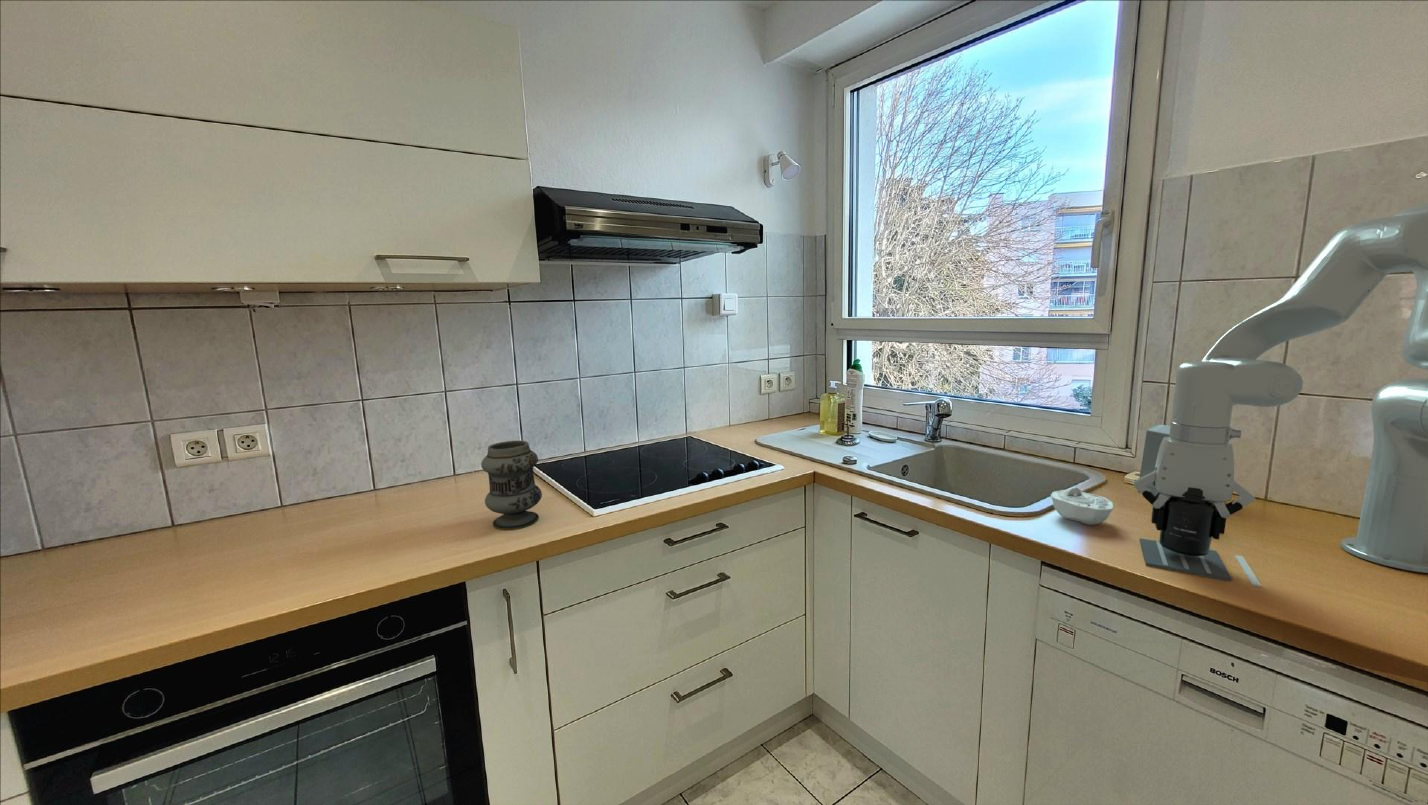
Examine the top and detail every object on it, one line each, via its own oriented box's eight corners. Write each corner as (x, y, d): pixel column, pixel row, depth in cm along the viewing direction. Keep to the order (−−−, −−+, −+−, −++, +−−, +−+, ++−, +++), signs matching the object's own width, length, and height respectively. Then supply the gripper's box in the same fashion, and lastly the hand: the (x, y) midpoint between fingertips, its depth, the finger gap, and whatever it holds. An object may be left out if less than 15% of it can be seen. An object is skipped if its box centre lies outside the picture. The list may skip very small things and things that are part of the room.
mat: (1216, 553, 98) (1216, 550, 98) (1231, 581, 88) (1231, 578, 88) (1139, 540, 104) (1139, 537, 104) (1145, 565, 94) (1146, 562, 94)
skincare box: (1148, 485, 135) (1155, 423, 132) (1184, 492, 129) (1192, 428, 127) (1135, 492, 130) (1142, 428, 128) (1172, 500, 125) (1180, 433, 122)
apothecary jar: (512, 509, 129) (506, 436, 126) (554, 514, 125) (548, 439, 122) (475, 528, 118) (466, 449, 115) (519, 535, 114) (512, 452, 111)
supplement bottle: (1174, 556, 93) (1182, 489, 91) (1150, 539, 100) (1157, 477, 98) (1220, 558, 92) (1229, 491, 90) (1192, 541, 98) (1200, 478, 96)
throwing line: (1242, 557, 96) (1242, 556, 96) (1261, 587, 86) (1261, 585, 86) (1234, 556, 97) (1235, 555, 97) (1252, 585, 87) (1252, 583, 87)
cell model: (1084, 534, 107) (1087, 502, 106) (1037, 513, 119) (1039, 483, 118) (1126, 529, 109) (1130, 497, 108) (1076, 508, 121) (1079, 479, 120)
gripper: (1262, 434, 91) (1247, 534, 94) (1132, 425, 100) (1123, 516, 103) (1276, 444, 84) (1259, 551, 87) (1136, 433, 94) (1125, 529, 97)
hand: (1185, 531), depth 95 cm, fingers closed on supplement bottle, 6 cm apart
